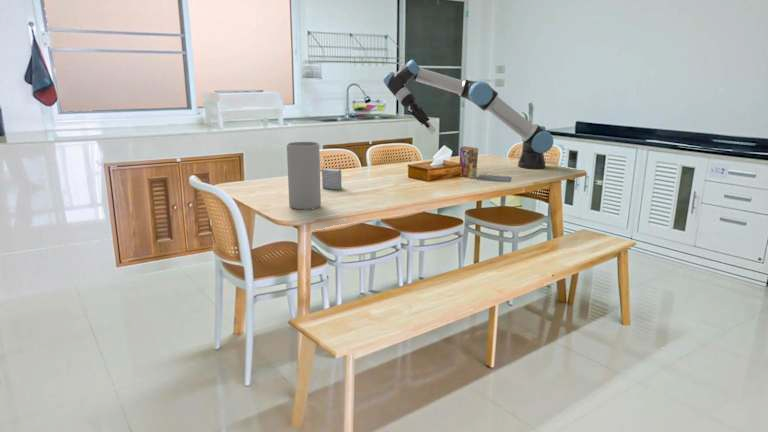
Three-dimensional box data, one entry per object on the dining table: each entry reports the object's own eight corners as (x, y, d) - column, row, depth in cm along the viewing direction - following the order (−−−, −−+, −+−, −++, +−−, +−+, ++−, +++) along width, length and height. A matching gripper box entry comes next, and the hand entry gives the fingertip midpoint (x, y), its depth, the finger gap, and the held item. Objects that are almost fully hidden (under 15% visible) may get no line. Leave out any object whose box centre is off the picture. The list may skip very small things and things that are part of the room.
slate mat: (511, 177, 269) (511, 176, 269) (509, 181, 258) (509, 181, 258) (479, 175, 274) (480, 174, 274) (476, 179, 263) (476, 178, 263)
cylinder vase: (283, 208, 206) (280, 145, 199) (299, 201, 217) (297, 141, 210) (311, 211, 201) (309, 147, 194) (326, 204, 213) (324, 142, 206)
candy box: (477, 177, 268) (478, 147, 264) (471, 178, 265) (473, 148, 261) (464, 174, 274) (465, 145, 270) (458, 175, 272) (459, 146, 268)
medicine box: (341, 187, 242) (341, 169, 240) (337, 189, 238) (337, 171, 235) (326, 186, 244) (325, 168, 242) (322, 188, 240) (321, 170, 238)
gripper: (406, 102, 282) (433, 135, 279) (395, 103, 271) (423, 137, 268) (415, 92, 279) (443, 125, 276) (404, 93, 267) (433, 128, 264)
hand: (433, 131), depth 272 cm, fingers closed
